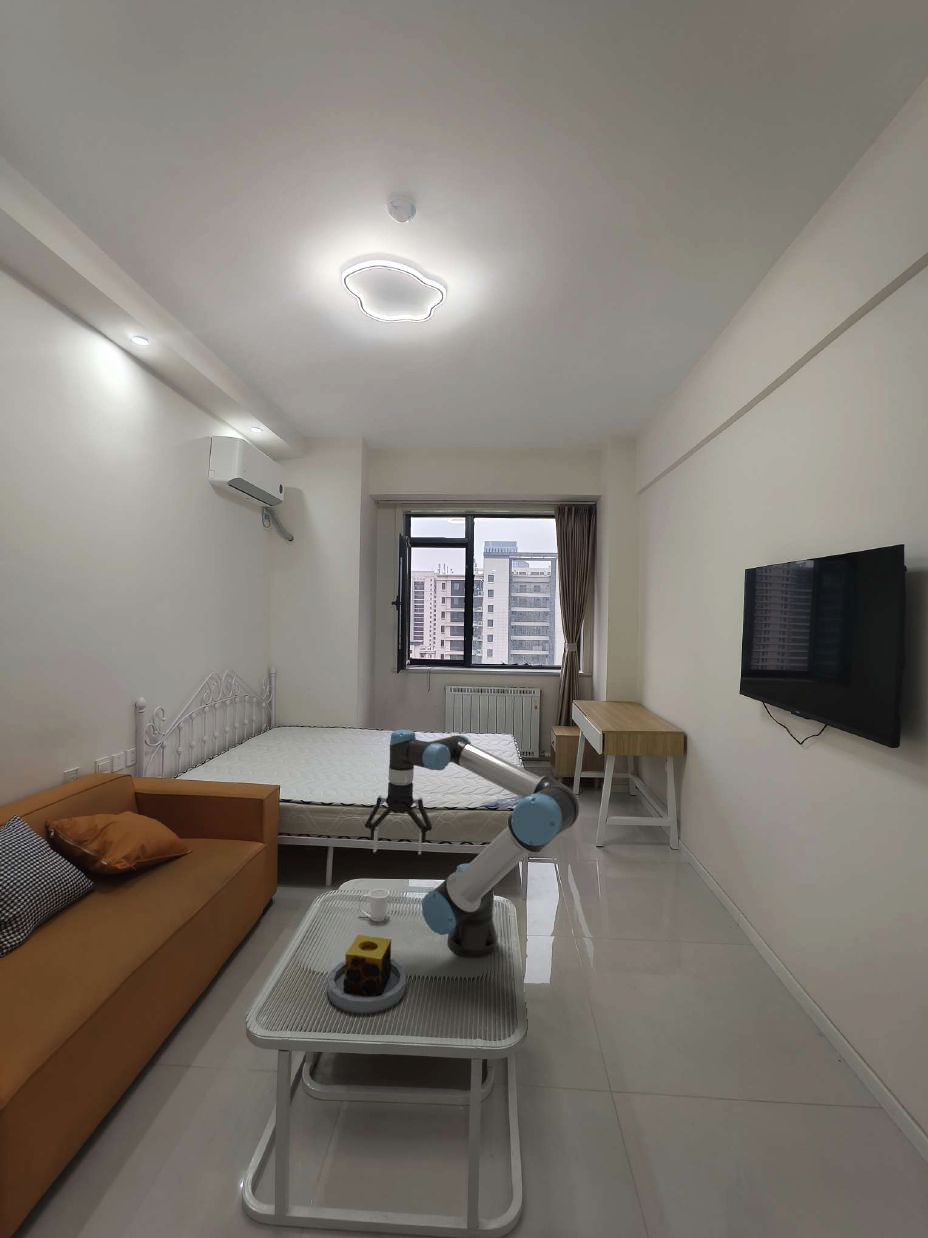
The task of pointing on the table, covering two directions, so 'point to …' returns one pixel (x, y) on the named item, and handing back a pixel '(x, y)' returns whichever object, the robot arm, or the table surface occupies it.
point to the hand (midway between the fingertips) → (397, 852)
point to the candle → (367, 966)
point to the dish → (366, 1003)
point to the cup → (377, 903)
